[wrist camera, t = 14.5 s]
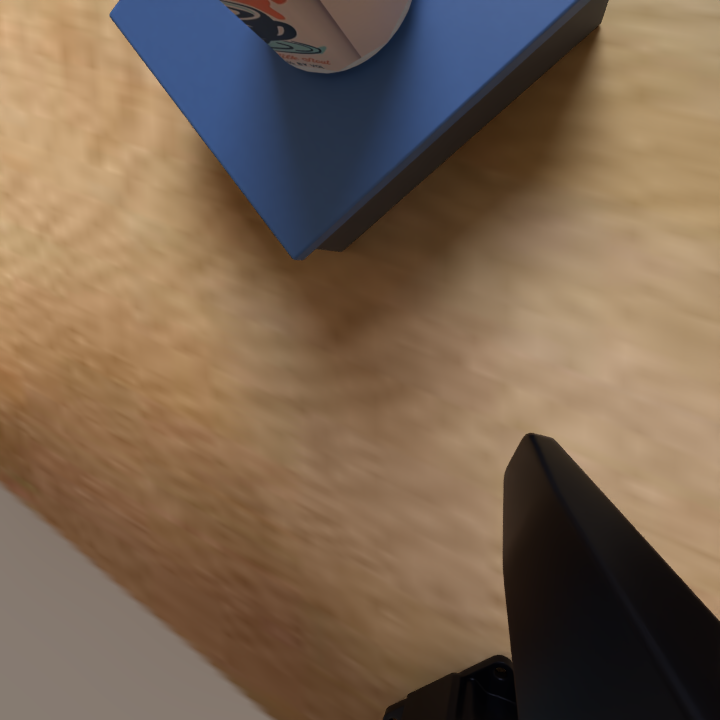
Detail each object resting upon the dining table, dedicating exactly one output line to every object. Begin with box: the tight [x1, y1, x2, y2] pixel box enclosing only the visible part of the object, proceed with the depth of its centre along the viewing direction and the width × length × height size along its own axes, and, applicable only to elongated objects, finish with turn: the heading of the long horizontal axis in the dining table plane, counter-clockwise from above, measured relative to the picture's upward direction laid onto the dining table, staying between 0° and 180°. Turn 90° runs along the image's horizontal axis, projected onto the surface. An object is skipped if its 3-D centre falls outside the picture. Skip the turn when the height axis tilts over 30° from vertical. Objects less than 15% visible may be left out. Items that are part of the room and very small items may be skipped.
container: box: [110, 0, 608, 260], centre depth 17 cm, size 10×12×5 cm
